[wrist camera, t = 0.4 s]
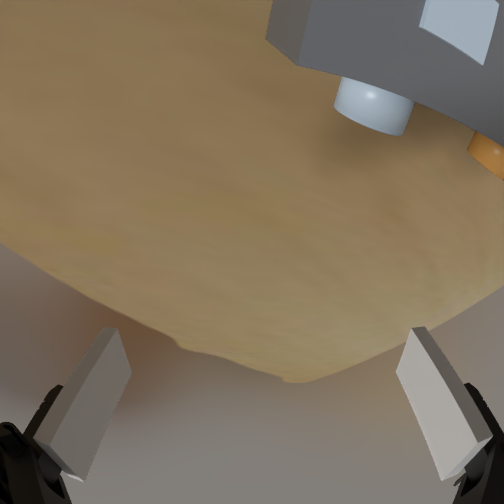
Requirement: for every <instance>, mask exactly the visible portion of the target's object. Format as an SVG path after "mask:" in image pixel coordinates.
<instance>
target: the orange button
mask: <svg viewBox="0 0 504 504" xmlns="http://www.w3.org/2000/svg"><path fill="white" fill-rule="evenodd" d="M467 150H468V152H469V153H470V154H471V155H472V156H473V157H474V158H475V159H476V160H477V161H478V162H479V163H481V164H482V165H483V166H484V167H486V168H487V169H488V170H489V171H491V172H492V173H493V174H495V175H496V176H498V177H499V178H501V179H502V180H504V147H502V146H501V145H499V144H497V143H496V142H494V141H492V140H491V139H489V138H487V137H486V136H484V135H482V134H480V133H479V132H477V131H475V133H474V135H473V137H472V140H471V142H470V144H469V146H468V148H467Z"/></svg>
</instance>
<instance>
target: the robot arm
mask: <svg viewBox="0 0 504 504" xmlns="http://www.w3.org/2000/svg"><path fill="white" fill-rule="evenodd" d="M131 373H132V371H131V369H130V366H129V363H128V360H127V357H126V354H125V351H124V349H123V345H122V342H121V339H120V336H119V332H118V329H114V328H106V327H104V328H103V329H102V330H101V331H100V333H99V334H98V336H97V337H96V339H95V340H94V341H93V343H92V345H91V346H90V347H89V349H88V350H87V352H86V353H85V355H84V356H83V358H82V359H81V361H80V362H79V364H78V365H77V367H76V368H75V370H74V371H73V373H72V374H71V376H70V377H69V379H68V381H67V382H66V384H65V385H64V386H61V385H57V386H56V387H54V388H53V389H52V390H51V391H49V393H48V394H47V396H46V397H45V399H44V400H43V401H44V402H43V403H42V404H41V405H40V407H39V410H37V412H36V413H35V415H34V416H33V418H32V420H31V421H30V423H29V425H28V426H27V428H26V430H25V432H24V433H23V434H22V433H21V432H20V431H19V430H18V429H17V428H16V426H15V425H14V424H12V423H10V422H2V423H0V504H72V503H71V500H70V497H69V495H68V492H67V490H66V487H65V484H64V481H63V479H62V477H61V475H60V473H61V470H63V471H64V472H65V473H66V474H67V475H68V476H70V477H72V478H75V479H77V480H80V481H82V482H85V480H86V478H87V475H88V472H89V470H90V467H91V465H92V462H93V460H94V457H95V455H96V453H97V450H98V448H99V445H100V443H101V440H102V438H103V436H104V433H105V431H106V429H107V426H108V424H109V422H110V419H111V417H112V415H113V413H114V411H115V408H116V406H117V404H118V402H119V399H120V397H121V395H122V393H123V390H124V388H125V386H126V384H127V382H128V380H129V378H130V376H131ZM396 373H397V375H398V378H399V380H400V382H401V384H402V386H403V388H404V391H405V393H406V395H407V397H408V399H409V402H410V404H411V406H412V408H413V411H414V413H415V415H416V418H417V420H418V422H419V425H420V427H421V429H422V432H423V434H424V437H425V439H426V442H427V444H428V447H429V449H430V452H431V454H432V457H433V460H434V462H435V465H436V468H437V470H438V473H439V476H440V479H441V480H445V479H447V478H449V477H452V476H455V475H456V474H458V473H459V472H460V471H461V470H462V469H463V468H465V470H466V473H464V474H463V475H462V476H461V477H460V478H459V479H458V480H457V481H456V482H455V484H454V486H456V485H457V484H458V483H460V482H461V483H460V486H459V489H458V491H457V494H456V496H455V499H454V501H453V504H504V433H503V431H502V430H501V428H500V427H499V424H498V423H497V421H496V419H495V417H494V416H493V414H492V412H491V411H490V409H489V407H487V404H486V402H485V401H484V400H483V398H482V396H481V394H480V393H479V391H478V390H477V389H476V388H475V387H474V386H472V385H471V384H470V383H466V384H463V383H462V381H461V380H460V378H459V376H458V375H457V373H456V372H455V370H454V369H453V367H452V366H451V364H450V363H449V361H448V360H447V358H446V357H445V355H444V354H443V352H442V351H441V349H440V348H439V346H438V345H437V343H436V342H435V340H434V339H433V338H432V336H431V335H430V334H429V332H428V331H427V329H426V328H425V327H417V328H411V330H410V333H409V336H408V339H407V342H406V346H405V348H404V351H403V354H402V357H401V359H400V362H399V365H398V368H397V370H396Z"/></svg>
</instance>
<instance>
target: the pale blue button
mask: <svg viewBox="0 0 504 504" xmlns="http://www.w3.org/2000/svg"><path fill="white" fill-rule="evenodd" d="M414 105H415V101H412V100H410V99H407V98H405V97H402V96H400V95H397V94H395V93H392V92H389V91H386V90H384V89H381V88H378V87H375V86H372V85H369V84H366V83H363V82H359V81H356V80H353V79H349V78H346V77H342V78H341V82H340V85H339V89H338V92H337V96H336V99H335V102H334V108H335V109H336V110H337V111H338V112H340V113H341V114H343V115H344V116H346V117H348V118H349V119H351V120H353V121H355V122H357V123H360V124H362V125H364V126H366V127H369V128H371V129H374V130H377V131H380V132H383V133H386V134H390V135H395V136H401V135H403V133H404V130H405V128H406V125H407V123H408V120H409V118H410V115H411V112H412V110H413V107H414Z"/></svg>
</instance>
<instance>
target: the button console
mask: <svg viewBox="0 0 504 504" xmlns="http://www.w3.org/2000/svg"><path fill="white" fill-rule="evenodd" d="M266 40H267V41H268V42H269V43H271V44H272V45H273V46H274V47H276V48H277V49H278V50H279V51H281V52H282V53H283V54H284V55H285V56H286V57H288V58H289V59H290V60H291V61H292V62H293V63H295V64H296V65H297V66H302V67H306V68H311V69H315V70H319V71H323V72H327V73H331V74H335V75H339V76H342V77H346V78H349V79H353V80H356V81H359V82H363V83H366V84H369V85H372V86H375V87H378V88H381V89H384V90H386V91H389V92H392V93H395V94H397V95H400V96H402V97H405V98H407V99H410V100H412V101H415V102H417V103H420V104H422V105H424V106H427V107H429V108H431V109H433V110H435V111H438V112H440V113H442V114H444V115H446V116H448V117H450V118H452V119H454V120H456V121H458V122H460V123H462V124H464V125H466V126H468V127H470V128H471V129H473V130H475V131H477V132H479V133H480V134H482V135H484V136H486V137H487V138H489V139H491V140H492V141H494V142H496V143H497V144H499V145H501V146H502V147H504V0H273V4H272V9H271V14H270V19H269V24H268V29H267V34H266Z"/></svg>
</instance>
